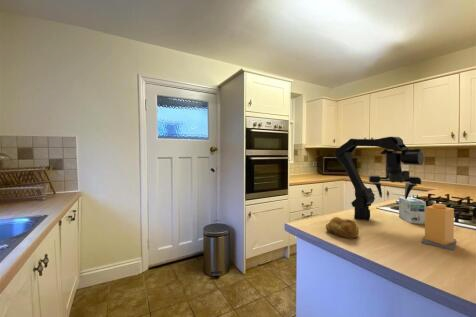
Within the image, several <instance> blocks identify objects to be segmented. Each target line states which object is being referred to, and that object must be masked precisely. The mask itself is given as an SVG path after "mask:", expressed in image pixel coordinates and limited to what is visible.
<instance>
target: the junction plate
mask: <svg viewBox="0 0 476 317" xmlns="http://www.w3.org/2000/svg"><path fill="white" fill-rule="evenodd" d="M456 242H457V239H456V238H454V242H452V243H449V244H446V245H443V244H440V243H436V242H433V241H430V240H427V239H425V236H424V237H423V239H422V240H421V244H425V245H428V246H433V247H437V248H441V249H446V250H450V251H454V250H455V245H456Z"/></svg>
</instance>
